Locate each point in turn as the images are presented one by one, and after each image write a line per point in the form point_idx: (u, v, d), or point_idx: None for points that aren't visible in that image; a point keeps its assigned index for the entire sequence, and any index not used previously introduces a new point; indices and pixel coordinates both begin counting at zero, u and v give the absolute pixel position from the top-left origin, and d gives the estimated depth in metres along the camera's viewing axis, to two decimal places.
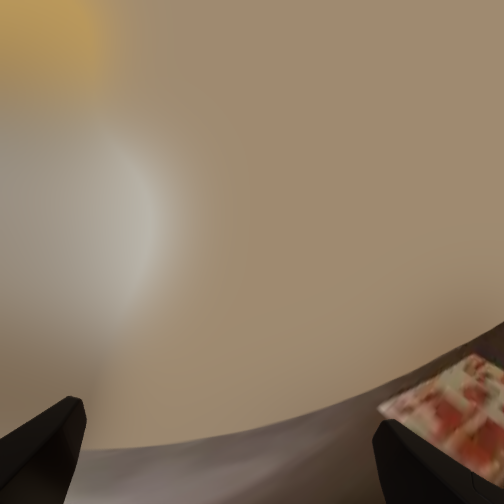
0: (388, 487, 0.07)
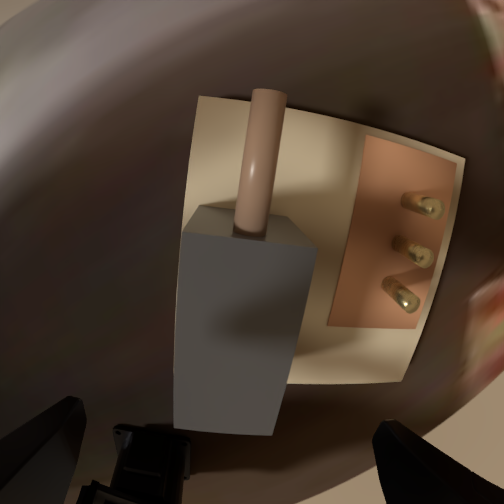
0: (388, 487, 0.07)
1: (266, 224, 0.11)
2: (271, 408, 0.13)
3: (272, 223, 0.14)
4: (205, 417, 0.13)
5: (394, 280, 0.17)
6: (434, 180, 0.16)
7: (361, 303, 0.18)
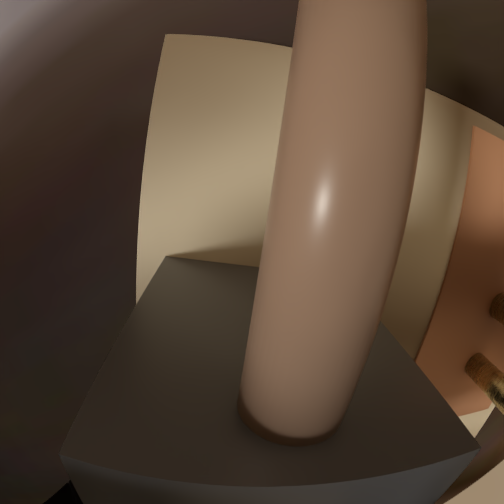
0: None
1: (350, 397, 0.03)
2: None
3: None
4: None
5: (487, 362, 0.09)
6: None
7: None
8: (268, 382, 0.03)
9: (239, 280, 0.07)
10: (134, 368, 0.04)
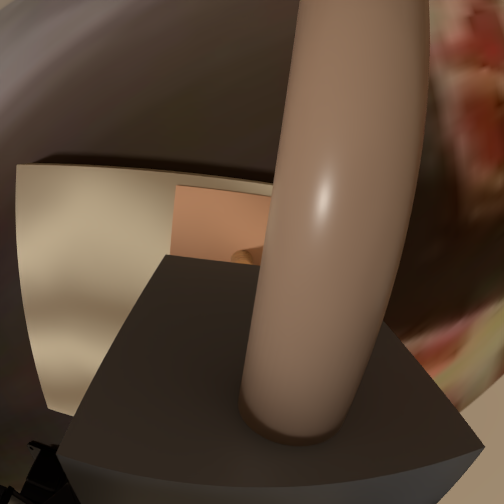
0: None
1: (353, 395, 0.03)
2: None
3: None
4: None
5: None
6: None
7: None
8: (270, 381, 0.03)
9: (239, 278, 0.07)
10: (133, 367, 0.03)
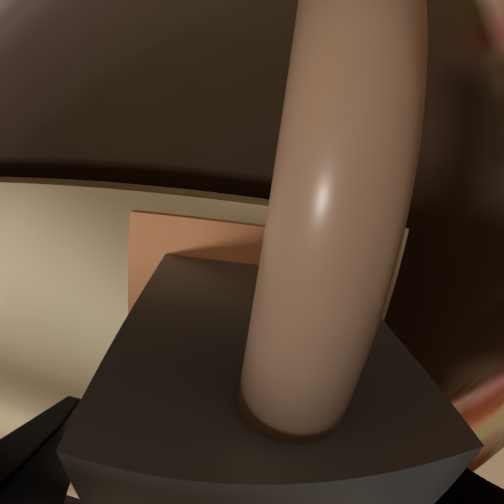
0: None
1: (352, 393, 0.03)
2: None
3: None
4: None
5: None
6: None
7: None
8: (268, 378, 0.03)
9: (239, 278, 0.07)
10: (133, 365, 0.04)
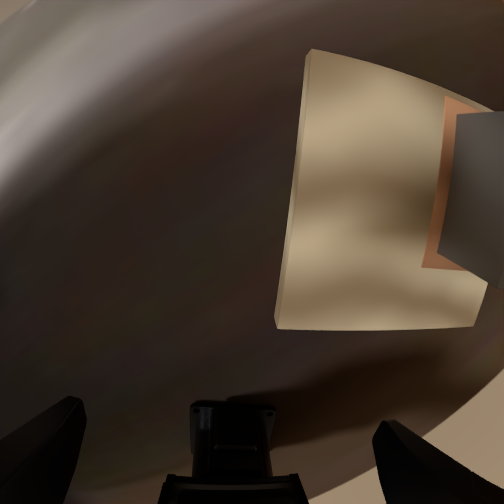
0: (388, 487, 0.07)
1: None
2: None
3: None
4: None
5: None
6: None
7: None
8: None
9: None
10: None
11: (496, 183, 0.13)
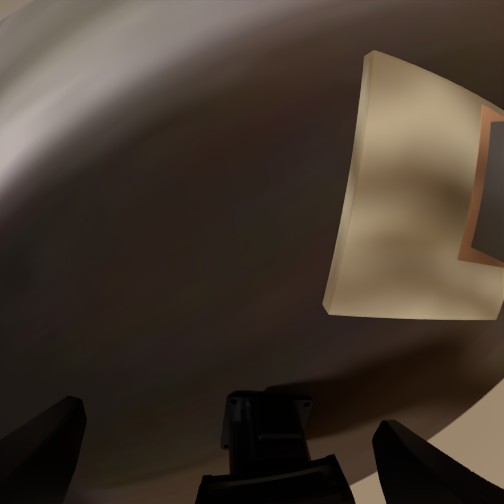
0: (388, 487, 0.07)
1: None
2: None
3: None
4: None
5: None
6: None
7: None
8: None
9: None
10: None
11: None
